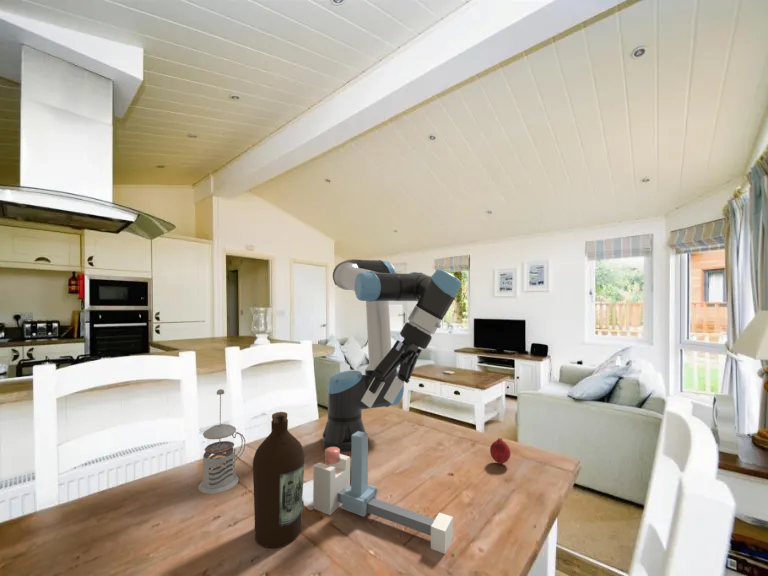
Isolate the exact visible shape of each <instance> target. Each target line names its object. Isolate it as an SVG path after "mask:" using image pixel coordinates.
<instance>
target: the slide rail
mask: <svg viewBox="0 0 768 576" xmlns="http://www.w3.org/2000/svg"><path fill="white" fill-rule="evenodd" d="M350 458H351V456H348V455H346V454H342V453H340V461H339V462H338V463H335V464H327V463H322V462H318V463H316V464H314V465H313V480H312V481H313V483H312V484H313V487H312V488H313V490H312V491H313V493H312V496H313V497H312V498H313V499H312V500H313V502H312V507H313V506H314V510H316V511H319V512H321V513H323V514H327V515H329V516H331V515H332V514H333V513H334V512H335V511H336V510H337V509H339V507H342V499H341V493H342V492H344V491H345V490H346V489H347V488H348V487H349V486H351V476H350ZM367 513H368V514H370V515H373V516H376V517H378V518H382V519H384V520H387V521H390V522H393V523H395V524H399V525H401V526H403V527H406V528H409V529H412V530H415V531H417V532H421V533H422V534H425V535H428V536H430V549H431V550H432V551H436V552H438V553H442V554H443V555H446V553H447V551H448V549H449V548H450V545H451V543H452V541H453V539H454V524H453V523H454V517H453V516H451V515H450V514H449V515H448V514H445V513H443V512H438V513H437V515H436V517H435V518H433V517H430V516H427V515H424V514H421V513H418V512H416V511H413V510H409V509H406V508H404V507H401V506H398V505H394V504H391V503H390V502H386V501H383V500H381V499H377V498H376V499H374V498H372V499H371V500H370V501H369V502H368V503H367Z"/></svg>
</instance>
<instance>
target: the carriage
mask: <svg viewBox="0 0 768 576" xmlns="http://www.w3.org/2000/svg"><path fill="white" fill-rule="evenodd" d="M365 432H366V431H365ZM365 432H360V431H357V432H356V433H354V434H353V435H352V446H351V450H350V451H351V456H350V458H351V476H350V486H349V487H348V488H347V489H346V490H345V491H344V492H342V493H341V499H342V505H341V509H342V510H345V511H346V512H347V511H348V512H350V513H353V514H356V515H358V516H361V517H366V516H367V503H368V502H369V501H370V500H371V499H372V498H374V499H377V493H378V487H377V486H374V485H371V484H369V433H368V432H366V433H365Z"/></svg>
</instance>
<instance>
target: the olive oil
mask: <svg viewBox="0 0 768 576" xmlns="http://www.w3.org/2000/svg"><path fill="white" fill-rule="evenodd" d="M288 424H289V420H288V413H287V412H284V411H279V412H278V411H277V412H275V413H272V414H271V432H270V433H269V434H268V436H267V437H266V438H264V440H263V441H262V443H260V444H259V445H258V447H257V449H256V450H255V453H254V456H253V459H252V479H253V480H252V481H253V482H252V483H253V508H254V510H253V513H254V539H255V541H256V544H258V545H259V546H260V547H263V548H267V549H275V548H280V547H283V546H286V545H288V544H290V543H292V542H293V541H294V540H296V539H297V538H298V537H299V535H300V533H301V530H302V515H303V514H302V512H303V511H304V500H303V496H304V495H303V492H304V478H305V477H304V476H305V465H306V464H305V463H306V460H305V457H306V456H305V450H304V448H303V446H302V443H301V442H300V441H299V440H298V439H297V438H296V437H295V436H294V435H293V434H292V433H291V432H290V431H289V430H288V429H289V428H288V427H289V426H288Z"/></svg>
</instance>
